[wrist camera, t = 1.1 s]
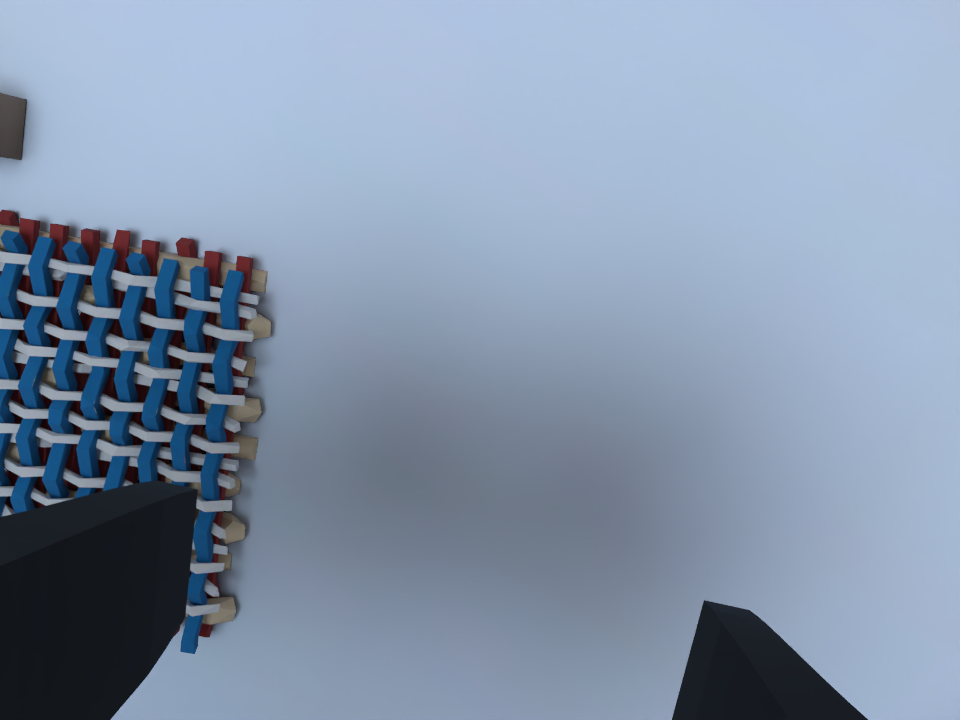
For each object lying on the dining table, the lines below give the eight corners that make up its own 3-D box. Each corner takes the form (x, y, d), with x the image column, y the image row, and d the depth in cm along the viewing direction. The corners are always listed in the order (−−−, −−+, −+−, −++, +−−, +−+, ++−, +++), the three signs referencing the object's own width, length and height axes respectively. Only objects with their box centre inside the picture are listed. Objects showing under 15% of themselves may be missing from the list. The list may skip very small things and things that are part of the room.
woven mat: (291, 254, 21) (266, 256, 19) (243, 627, 23) (215, 665, 21) (-91, 187, 22) (-154, 183, 20) (-109, 558, 24) (-169, 589, 22)
